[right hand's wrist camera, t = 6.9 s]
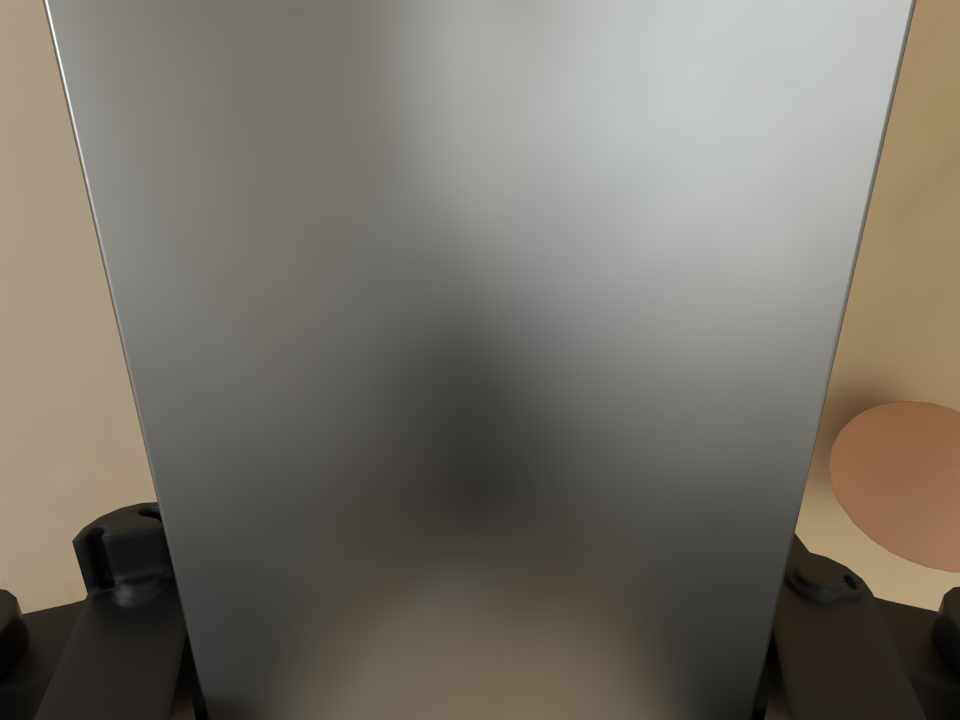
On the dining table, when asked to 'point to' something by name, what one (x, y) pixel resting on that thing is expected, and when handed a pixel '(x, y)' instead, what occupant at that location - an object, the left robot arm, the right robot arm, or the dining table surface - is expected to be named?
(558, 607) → the bar
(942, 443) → the egg
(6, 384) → the dining table surface
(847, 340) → the dining table surface
